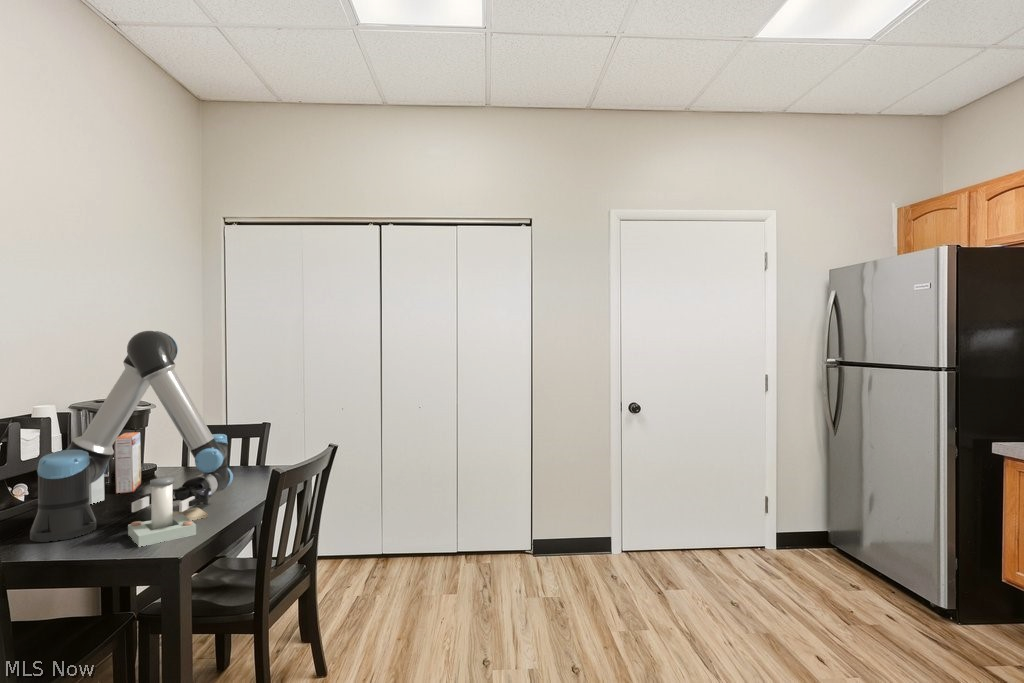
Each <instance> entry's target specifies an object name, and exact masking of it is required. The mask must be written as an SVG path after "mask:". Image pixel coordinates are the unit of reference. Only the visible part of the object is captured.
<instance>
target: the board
mask: <svg viewBox="0 0 1024 683" xmlns="http://www.w3.org/2000/svg"><path fill="white" fill-rule="evenodd" d="M181 514H183V515H184V516H186V517H187V518H188V519H190V520H191V521H192V520H193V521H197V519H198V520H202V519H201V518H203V519H206V517H208V518H209V514H208V512H205V511H204V510H202V509H201V508H200V507H191V508H189V509H187V510H185V511H183V512H179V510H175V511H173V516H176V515H181Z"/></svg>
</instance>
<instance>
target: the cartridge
mask: <svg viewBox="0 0 1024 683" xmlns="http://www.w3.org/2000/svg"><path fill="white" fill-rule="evenodd" d="M174 482H175V478H174V477H171V476H168V477H165V476H164V477H158V478H157V477H156V478H154V479H153V478H152V479H150V480H149V486H150V487H151V489H150V490H151V492H150V493H151V504H150V506H151V508H150V509H151V511H150V512H151V516H150V517H151V518H150V520H151V530H155V529H160V528H165V527H169V526H173V512H174V510H173V508H174V507H173V504H174V503H173V502H174V501H173V499H174V495H173V489H174V488H173V487H174V486H173V484H174Z"/></svg>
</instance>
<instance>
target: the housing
mask: <svg viewBox="0 0 1024 683" xmlns="http://www.w3.org/2000/svg"><path fill="white" fill-rule="evenodd" d="M127 532H128V533H127V535H128V537H129V536H130V537H131V538H132V539H131V538H130V537H129V538H130V539H131V541H132V542H133V543H134V544H135V543H136V544H137V545H138V546H137V545H136V544H135V545H136V546H137V547H138V548H142V547H141V546H143V547H146V545H147V546H150V545H151V546H152V545H156V544H159V543H160V542H161V543H165V542H169V541H170V542H171V541H174V540H178V539H183V538H187V537H192V536H196V535H197V523H195V522H194V520H193V521H191V520H190V519H188V518H187V517H186V516H184V515H183V514H181V515H176V516H173V526H169V527H165V528H160V529H155V530H151V519H150V520H146V521H141V520H138V521H133V522H131V523H130V524H128V525H127ZM164 541H165V542H164Z"/></svg>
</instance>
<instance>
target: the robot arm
mask: <svg viewBox="0 0 1024 683" xmlns="http://www.w3.org/2000/svg"><path fill="white" fill-rule="evenodd" d="M126 353H127V355H126V356H125V358H124V359H123V361H122V362H123V365H124V370H123V371H122V373H121V375H120V376H119V378H118V379H117V381H116V382H115V384H114V385H113V387H112V388H111V390H110V392H109V393H108V394H107V396H106V398H105V399H104V402H103V403H102V405H101V406H100V408H99V409H98V410H97V412H96V414H95V415H94V417H93V418H92V420H91V421H90V423H89V425H88V426H87V428H86V429H85V431H84V432H83V434H82V435H80V436H78V437H74V438H73V439H72V441H71V443H70V444H69V446H68V447H67V449H66V450H59V451H54V452H51V453H48V454H45V455H43V456H42V457H40V459H39V461H38V466H37V470H36V473H37V513H36V516H35V518H34V520H33V523H32V525H31V528H30V531H29V540H30V541H31V542H35V543H50V542H49V541H53V542H59V541H58V540H61V541H65V540H71V539H75V538H74V537H76V538H79V537H82V536H81V535H83V536H86V535H88V534H90V532H91V533H92V531H93V530H94V531H96V529H97V519H96V516H95V514H94V512H93V510H92V507H91V505H90V504H89V484H91V483H93V482H95V481H96V480H98V479H99V478H100V477H101V476H102V475H103V474H104V475H105V472H106V470H107V468H108V464H109V462H110V460H111V458H112V456H113V455H114V454H115V450H114V449H113V445H114V444H115V440H116V439H117V437H119V436H120V433H121V432H122V430H123V429H124V427H125V426H126V424H127V423H128V421H129V419H130V418H131V416H132V414H133V413H134V411H135V410H136V408H137V406H138V405H139V403H140V401H141V400H142V399H143V397H144V396H145V394H146V393H147V390H148V389H149V387H150V386H151V388H152V390H153V392H154V393H155V395H156V397H157V398H158V399H159V402H160V403H161V405H162V406H163V408H164V410H165V411H166V413H167V415H168V417H169V418H170V420H171V422H172V423H173V424H174V426H175V428H176V429H177V431H178V433H179V434H180V437H181V438H182V440H183V441H184V443H185V445H186V447H187V448H188V450H189V451H190V453H191V455H192V457H193V458H194V465H195V467H196V468H197V469H198V471H200V472H202V474H199V475H197V476H194V477H192V478H190V479H187V480H186V481H185V482H184V483H183V484H182V485H181V487H178V488H173V497H174V498H173V502H177V501H179V504H178V505H179V507H178V509H179V510H178V511H179V512H183V511H185V510H187V509H191V508H194V506H196V505H197V506H199V505H201V504H202V505H208V502H209V499H210V498H211V497H212V495H214V494H216V493H219V492H221V491H223V490H225V489H226V488H228V487H229V486H230V485H231V484H232V483H233V479H234V474H233V472H232V470H231V469H230V468H229V466H228V445H229V443H228V436H227V434H224V433H215V434H214V433H213V434H212V432H211V431H210V429H209V427H208V425H207V424H206V422H205V419H203V417H202V415H201V413H200V412H199V410H198V408H197V407H196V405H195V403H194V402H193V400H192V398H191V396H190V394H189V392H188V391H187V389H186V387H185V385H184V384H183V382H182V381H181V379H180V377H179V376H178V374H177V373H176V372H177V371H175V367H176V363H175V362H174V361H175V360H176V358H177V355H178V344H177V342H176V341H175V339H174V338H173V337H172V336H171V335H169V334H168V333H166V332H163V331H158V330H155V331H154V330H144V331H140V332H137V333H135V334H134V335H133V336H132V337H131V338H130V339H129V340H128V343H127V346H126ZM138 498H139V499H137V500H135V501H133V502H131V513H136V512H138V511H140V510H143V509H145V508H148V507H149V506H150V505H151V492H150V493H147V494H141V495H139V497H138ZM94 531H93V532H94ZM87 533H88V534H87ZM85 534H86V535H85ZM78 536H79V537H78Z"/></svg>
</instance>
